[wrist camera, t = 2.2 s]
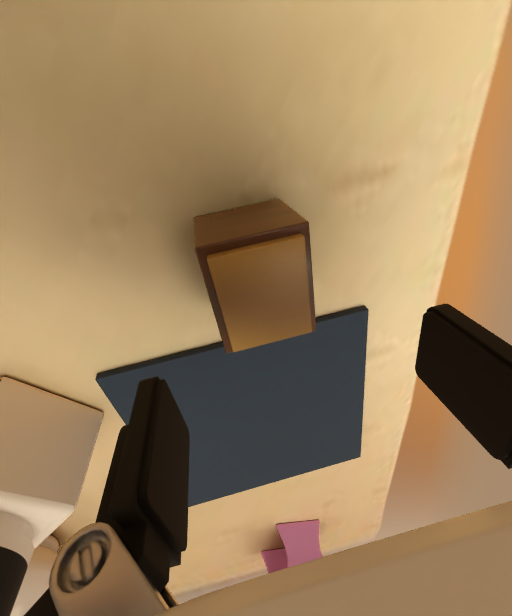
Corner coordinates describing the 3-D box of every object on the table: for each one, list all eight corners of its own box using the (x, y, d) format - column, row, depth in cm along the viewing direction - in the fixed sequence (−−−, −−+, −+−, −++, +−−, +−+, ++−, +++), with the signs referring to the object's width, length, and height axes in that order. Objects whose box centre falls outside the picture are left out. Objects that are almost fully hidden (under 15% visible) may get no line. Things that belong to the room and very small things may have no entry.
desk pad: (97, 373, 21) (94, 379, 20) (364, 305, 22) (368, 309, 21) (183, 502, 31) (182, 509, 31) (358, 451, 33) (360, 457, 32)
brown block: (193, 217, 16) (194, 252, 12) (279, 197, 17) (313, 224, 12) (218, 305, 20) (227, 360, 15) (290, 288, 20) (320, 336, 15)
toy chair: (253, 554, 42) (279, 735, 30) (269, 525, 38) (307, 719, 26) (305, 548, 45) (349, 712, 32) (325, 519, 40) (385, 694, 28)
